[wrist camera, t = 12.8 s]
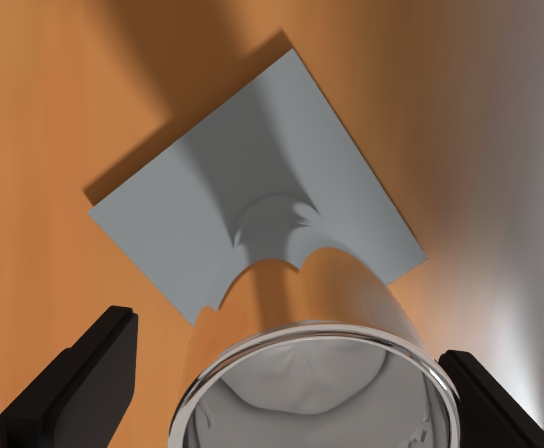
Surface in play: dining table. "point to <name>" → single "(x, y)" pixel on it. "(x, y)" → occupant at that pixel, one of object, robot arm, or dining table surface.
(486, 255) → the dining table surface
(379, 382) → the beer glass
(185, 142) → the grey mat
